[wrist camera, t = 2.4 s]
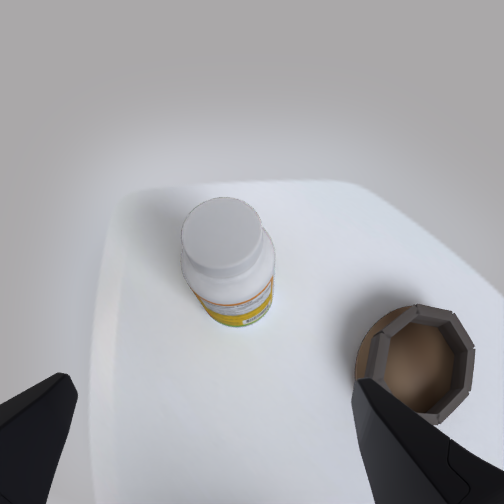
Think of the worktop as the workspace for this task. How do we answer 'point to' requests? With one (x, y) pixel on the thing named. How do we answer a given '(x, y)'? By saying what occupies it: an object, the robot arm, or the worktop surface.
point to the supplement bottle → (229, 261)
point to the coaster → (420, 359)
